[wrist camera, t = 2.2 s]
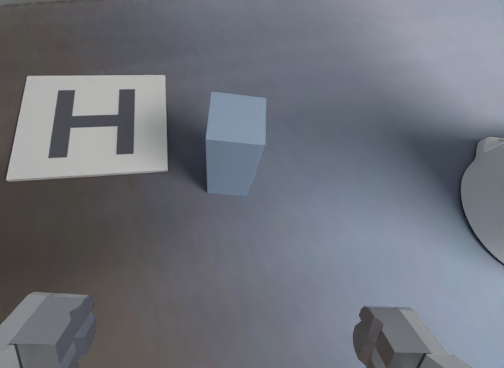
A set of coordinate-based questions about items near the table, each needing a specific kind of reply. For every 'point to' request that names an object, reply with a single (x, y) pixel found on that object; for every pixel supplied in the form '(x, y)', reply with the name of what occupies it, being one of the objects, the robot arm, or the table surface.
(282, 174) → the table surface
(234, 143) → the blue block
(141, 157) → the letter card
